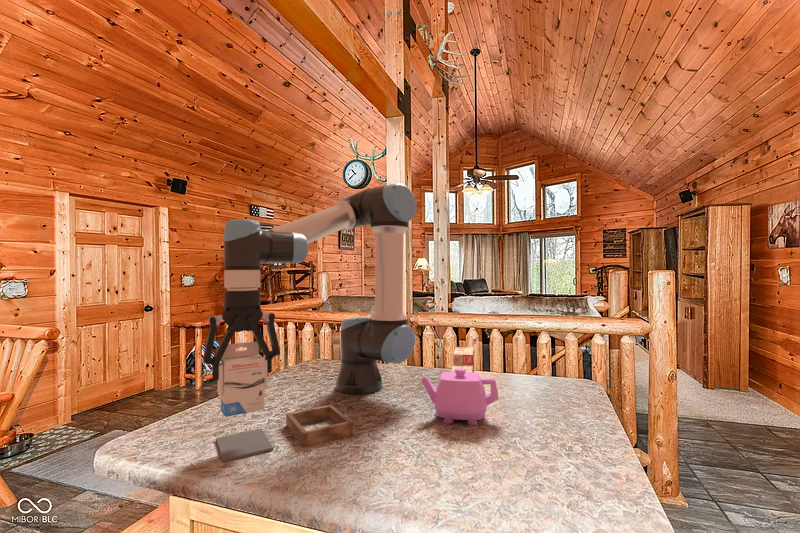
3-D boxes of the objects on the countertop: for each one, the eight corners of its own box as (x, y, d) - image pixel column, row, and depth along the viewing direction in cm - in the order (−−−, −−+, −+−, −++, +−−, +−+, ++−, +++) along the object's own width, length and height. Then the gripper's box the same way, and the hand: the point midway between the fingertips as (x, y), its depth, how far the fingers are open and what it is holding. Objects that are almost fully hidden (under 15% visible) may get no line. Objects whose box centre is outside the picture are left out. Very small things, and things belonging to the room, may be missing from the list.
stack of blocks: (472, 404, 114) (471, 361, 114) (450, 403, 115) (450, 360, 115) (474, 383, 135) (474, 346, 135) (456, 382, 136) (455, 346, 136)
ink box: (224, 418, 84) (224, 348, 84) (220, 411, 88) (220, 344, 88) (265, 409, 89) (265, 344, 89) (259, 403, 93) (259, 340, 93)
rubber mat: (261, 430, 96) (261, 428, 96) (273, 450, 86) (273, 447, 86) (216, 440, 91) (216, 437, 91) (223, 462, 81) (223, 459, 81)
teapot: (497, 411, 108) (496, 364, 108) (500, 429, 96) (500, 377, 96) (424, 407, 111) (423, 362, 111) (418, 424, 99) (417, 374, 99)
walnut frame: (331, 415, 105) (331, 404, 105) (353, 434, 93) (353, 422, 93) (286, 425, 99) (286, 413, 99) (303, 447, 87) (303, 433, 87)
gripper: (286, 287, 97) (286, 379, 97) (187, 290, 86) (187, 394, 86) (294, 288, 91) (295, 387, 91) (189, 291, 80) (189, 404, 80)
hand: (242, 390), depth 88 cm, fingers closed on ink box, 8 cm apart
